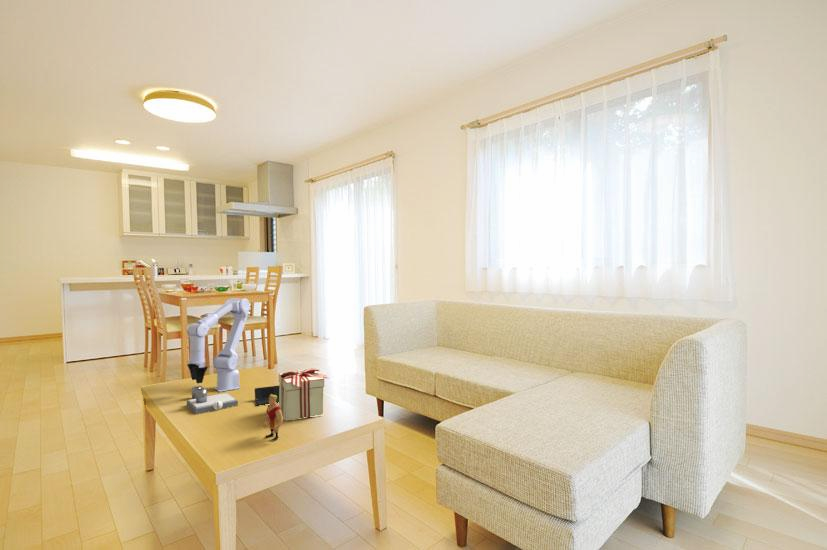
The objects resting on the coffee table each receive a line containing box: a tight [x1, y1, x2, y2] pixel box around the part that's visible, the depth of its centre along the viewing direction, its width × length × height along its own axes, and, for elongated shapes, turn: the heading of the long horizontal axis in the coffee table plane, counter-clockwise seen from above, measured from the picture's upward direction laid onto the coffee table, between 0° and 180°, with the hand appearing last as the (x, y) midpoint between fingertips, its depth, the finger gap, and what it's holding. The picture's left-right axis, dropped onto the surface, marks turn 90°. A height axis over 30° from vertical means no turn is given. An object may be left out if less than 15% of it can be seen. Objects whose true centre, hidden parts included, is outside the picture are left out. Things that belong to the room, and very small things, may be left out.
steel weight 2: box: [196, 387, 208, 403], centre depth 167 cm, size 4×4×5 cm
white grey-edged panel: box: [186, 392, 239, 415], centre depth 169 cm, size 16×15×4 cm
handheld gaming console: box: [254, 385, 280, 407], centre depth 176 cm, size 12×7×10 cm
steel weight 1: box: [191, 385, 203, 399], centre depth 179 cm, size 4×4×5 cm
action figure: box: [262, 394, 284, 441], centre depth 136 cm, size 10×4×15 cm, turn 47°
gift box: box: [278, 367, 329, 422], centre depth 160 cm, size 17×18×17 cm
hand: (197, 381), depth 179 cm, fingers open, 7 cm apart
